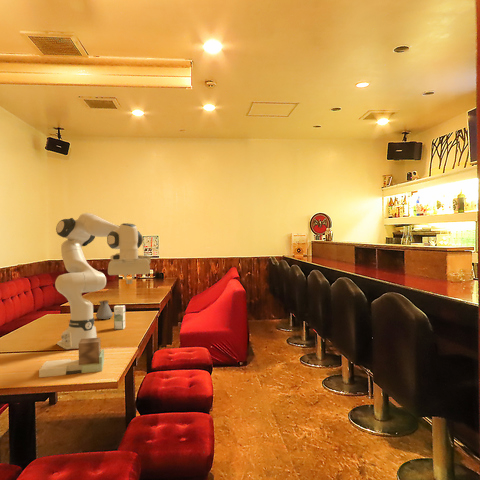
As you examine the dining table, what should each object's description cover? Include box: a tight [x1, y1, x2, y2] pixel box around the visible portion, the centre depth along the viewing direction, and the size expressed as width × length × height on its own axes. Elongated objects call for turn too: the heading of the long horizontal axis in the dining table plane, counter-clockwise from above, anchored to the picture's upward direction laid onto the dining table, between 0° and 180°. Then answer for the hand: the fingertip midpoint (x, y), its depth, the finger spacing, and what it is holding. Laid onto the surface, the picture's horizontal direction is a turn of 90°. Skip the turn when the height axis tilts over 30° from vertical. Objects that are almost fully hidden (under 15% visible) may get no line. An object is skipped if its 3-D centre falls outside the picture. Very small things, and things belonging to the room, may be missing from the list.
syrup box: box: [113, 304, 126, 330], centre depth 235 cm, size 6×6×14 cm
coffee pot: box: [95, 299, 114, 320], centre depth 261 cm, size 21×12×15 cm, turn 18°
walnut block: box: [78, 337, 102, 365], centre depth 161 cm, size 8×8×9 cm
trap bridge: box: [38, 349, 105, 378], centre depth 159 cm, size 24×12×6 cm, turn 106°
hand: (129, 283), depth 184 cm, fingers closed
